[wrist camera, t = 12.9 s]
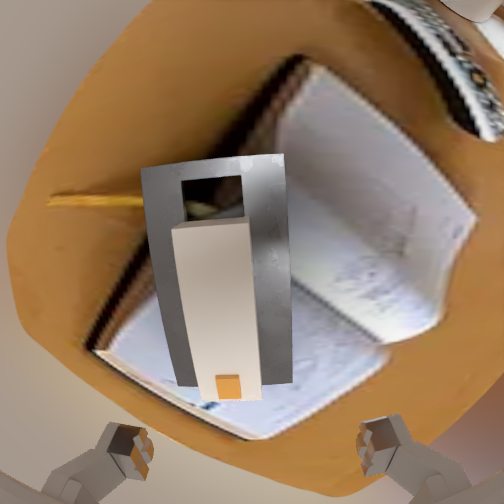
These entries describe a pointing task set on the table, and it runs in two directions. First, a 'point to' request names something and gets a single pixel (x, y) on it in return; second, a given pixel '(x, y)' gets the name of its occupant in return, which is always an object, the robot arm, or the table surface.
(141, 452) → the robot arm
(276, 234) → the keyhole plate
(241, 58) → the table surface
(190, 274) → the power strip
